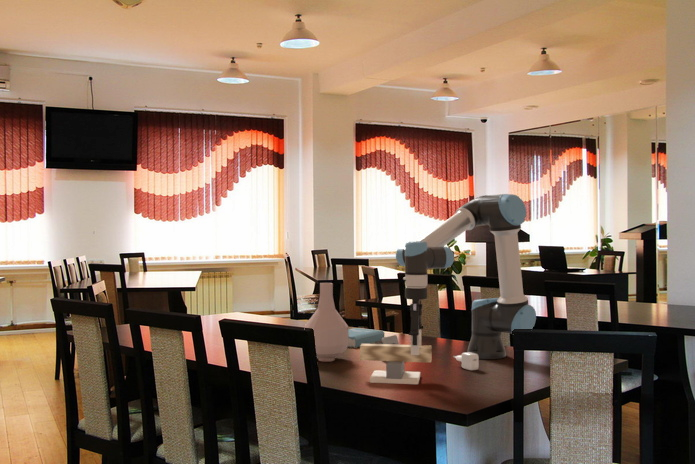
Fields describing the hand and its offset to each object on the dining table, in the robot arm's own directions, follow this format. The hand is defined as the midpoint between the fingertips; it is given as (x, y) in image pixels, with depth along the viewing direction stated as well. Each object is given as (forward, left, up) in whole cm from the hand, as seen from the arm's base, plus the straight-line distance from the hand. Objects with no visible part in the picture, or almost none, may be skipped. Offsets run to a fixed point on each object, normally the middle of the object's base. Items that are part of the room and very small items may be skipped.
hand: (416, 351), depth 218 cm
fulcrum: (+7, 0, -10) cm, 12 cm away
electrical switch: (+13, -34, -10) cm, 37 cm away
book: (+32, -69, -10) cm, 77 cm away
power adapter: (-16, -23, -10) cm, 30 cm away
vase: (+37, -28, -10) cm, 48 cm away
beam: (+7, 0, -3) cm, 8 cm away
